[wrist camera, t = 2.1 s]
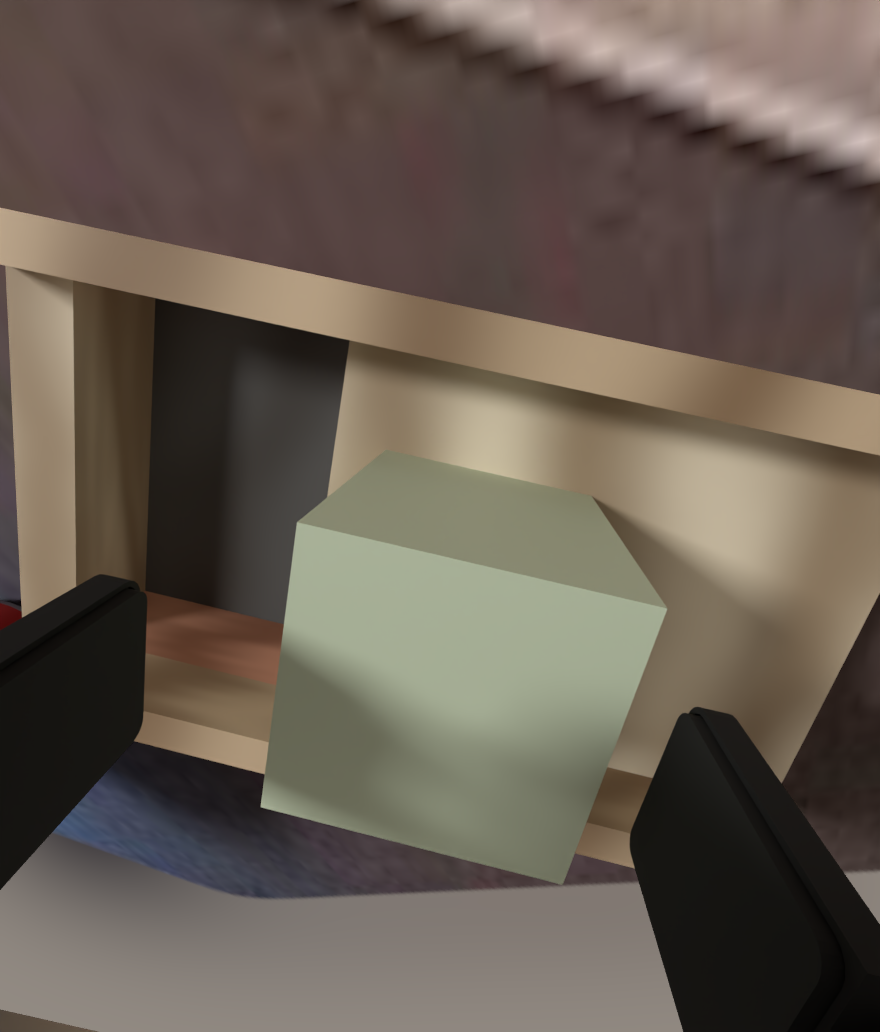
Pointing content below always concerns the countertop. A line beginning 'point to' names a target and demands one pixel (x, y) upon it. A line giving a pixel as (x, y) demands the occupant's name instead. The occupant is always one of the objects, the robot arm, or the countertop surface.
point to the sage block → (456, 663)
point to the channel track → (427, 434)
